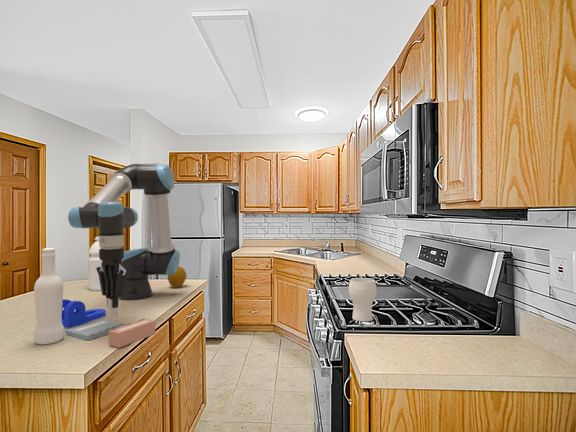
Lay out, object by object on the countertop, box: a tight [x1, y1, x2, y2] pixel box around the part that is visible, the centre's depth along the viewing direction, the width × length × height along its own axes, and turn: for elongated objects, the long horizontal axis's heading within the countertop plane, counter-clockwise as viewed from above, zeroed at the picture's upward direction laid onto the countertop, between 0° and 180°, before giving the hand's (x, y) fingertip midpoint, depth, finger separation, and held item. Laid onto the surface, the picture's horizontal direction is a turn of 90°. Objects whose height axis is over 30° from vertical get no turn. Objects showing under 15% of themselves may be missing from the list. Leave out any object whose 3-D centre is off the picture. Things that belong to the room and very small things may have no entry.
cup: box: [348, 277, 378, 322], centre depth 140 cm, size 11×11×15 cm
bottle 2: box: [87, 235, 102, 292], centre depth 195 cm, size 14×14×28 cm
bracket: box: [62, 298, 106, 329], centre depth 139 cm, size 18×8×9 cm, turn 158°
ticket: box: [65, 319, 126, 341], centre depth 126 cm, size 14×12×2 cm
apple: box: [167, 266, 187, 289], centre depth 198 cm, size 10×10×12 cm
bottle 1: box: [33, 247, 65, 346], centre depth 116 cm, size 8×8×30 cm
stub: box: [108, 318, 156, 349], centre depth 117 cm, size 14×5×5 cm, turn 153°
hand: (112, 316), depth 123 cm, fingers closed
